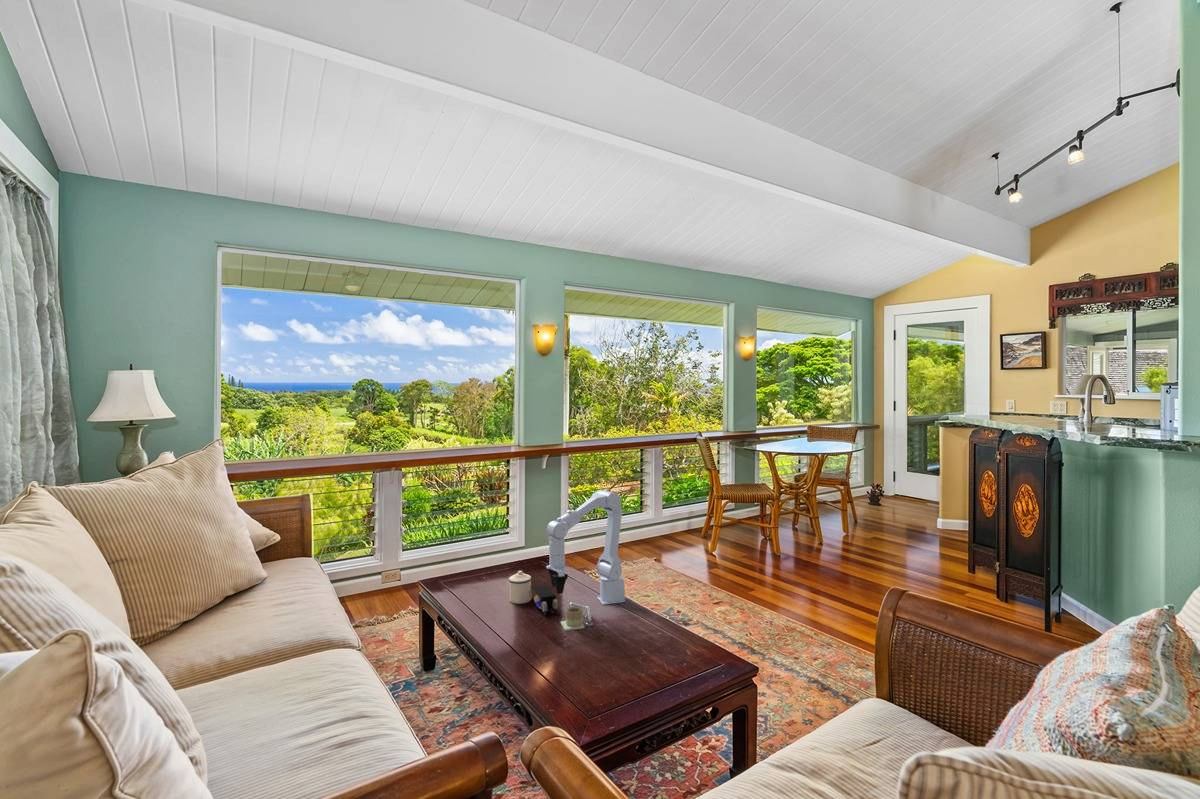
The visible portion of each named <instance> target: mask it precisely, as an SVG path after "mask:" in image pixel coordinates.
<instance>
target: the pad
mask: <svg viewBox="0 0 1200 799" xmlns="http://www.w3.org/2000/svg"><path fill="white" fill-rule="evenodd" d="M560 624H561V626H562V628H563V630H564V631H565V632H567V631H575V630H580V629H581V630H582V629H585V624H584V623H582V625H580V626H578V627H570V626H567V624H566V620H561V621H560Z"/></svg>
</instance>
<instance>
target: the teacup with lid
mask: <svg viewBox="0 0 1200 799" xmlns="http://www.w3.org/2000/svg"><path fill="white" fill-rule="evenodd" d="M508 581H509V602H511V603H512V604H518V605H519V604H527V603H529V602H531V600H532V576H531V575H529V574H526V573H525V572H523V570H518V571H517V572H516V573H515V574H513V575H510V577H509V578H508Z"/></svg>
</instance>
